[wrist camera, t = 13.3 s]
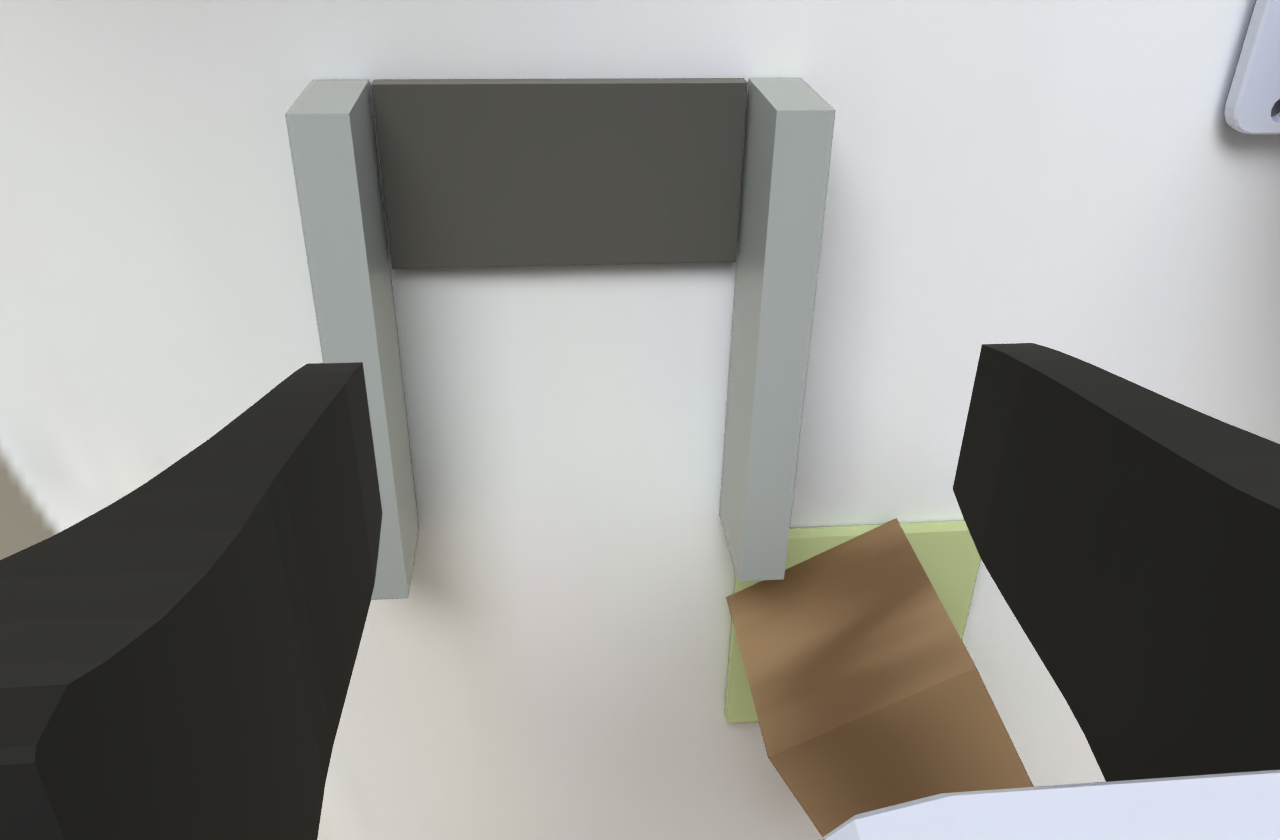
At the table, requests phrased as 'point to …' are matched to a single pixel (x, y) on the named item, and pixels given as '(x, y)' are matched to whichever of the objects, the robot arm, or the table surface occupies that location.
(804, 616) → the block
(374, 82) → the goalpost shaped bracket
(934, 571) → the coaster
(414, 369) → the table surface
